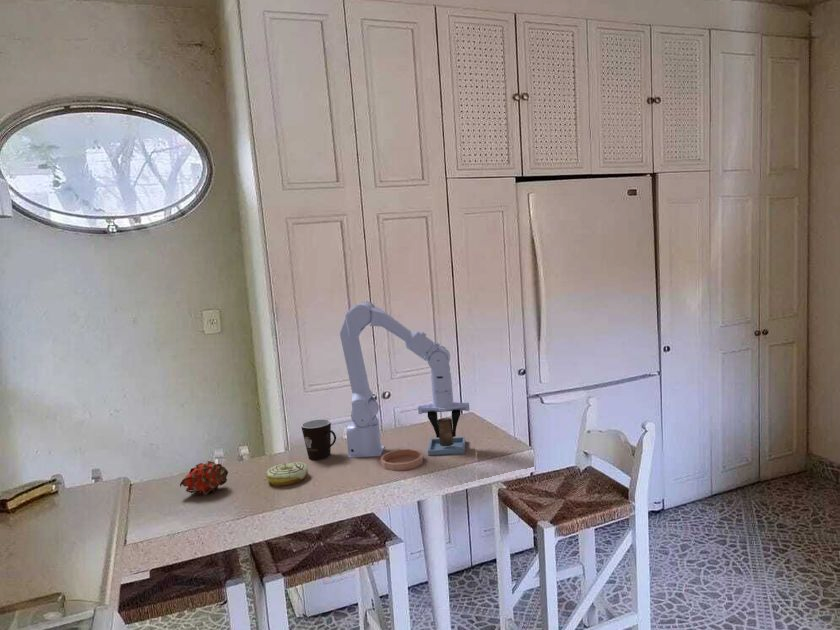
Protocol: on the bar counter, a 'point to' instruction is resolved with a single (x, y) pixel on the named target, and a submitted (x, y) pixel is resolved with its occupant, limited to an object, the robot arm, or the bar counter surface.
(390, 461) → the terracotta bowl
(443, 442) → the walnut cylinder
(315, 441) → the coffee mug
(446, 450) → the slate tray
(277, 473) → the decorated donut
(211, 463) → the dragon fruit
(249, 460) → the bar counter surface
